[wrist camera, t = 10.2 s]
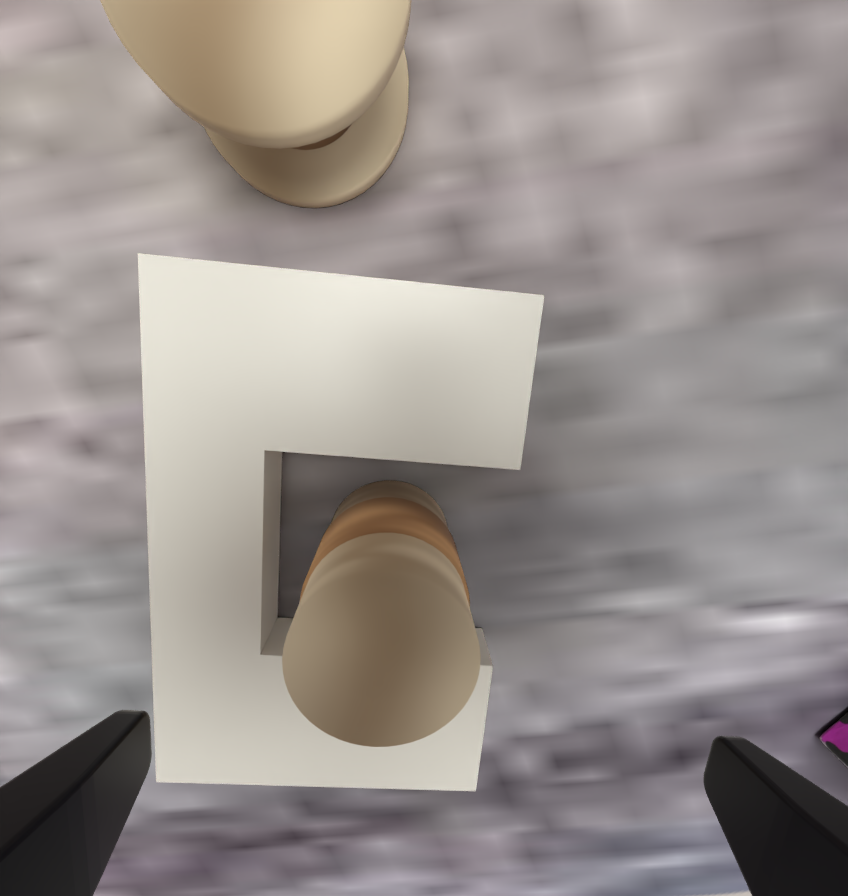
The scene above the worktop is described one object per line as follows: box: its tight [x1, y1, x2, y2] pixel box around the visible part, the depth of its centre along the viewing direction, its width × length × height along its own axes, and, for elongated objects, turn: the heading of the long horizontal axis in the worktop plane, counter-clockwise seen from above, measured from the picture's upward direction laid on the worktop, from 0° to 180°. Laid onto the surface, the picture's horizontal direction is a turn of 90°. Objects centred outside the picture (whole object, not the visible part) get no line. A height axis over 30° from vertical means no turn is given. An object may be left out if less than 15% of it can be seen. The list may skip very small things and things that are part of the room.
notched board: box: [138, 253, 544, 791], centre depth 18 cm, size 13×20×2 cm, turn 175°
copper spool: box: [282, 480, 481, 747], centre depth 15 cm, size 5×5×8 cm
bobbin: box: [100, 0, 411, 208], centre depth 13 cm, size 7×7×6 cm
